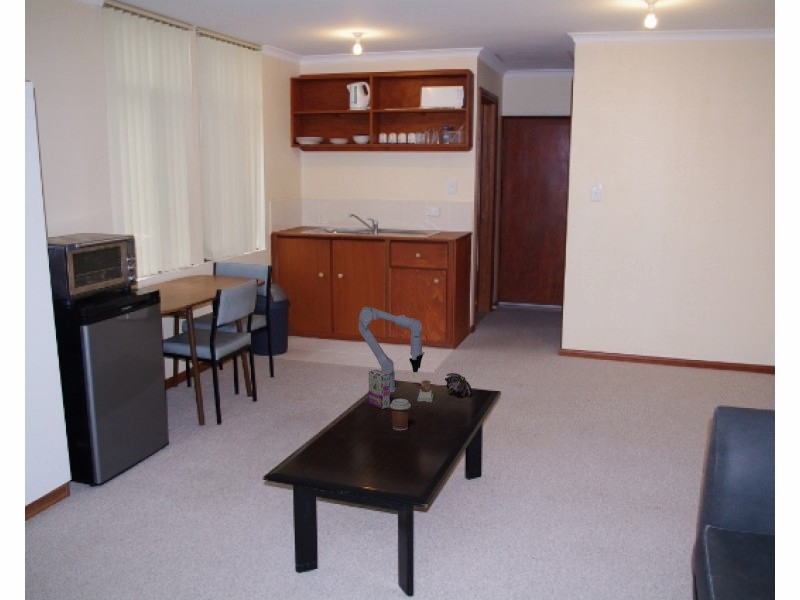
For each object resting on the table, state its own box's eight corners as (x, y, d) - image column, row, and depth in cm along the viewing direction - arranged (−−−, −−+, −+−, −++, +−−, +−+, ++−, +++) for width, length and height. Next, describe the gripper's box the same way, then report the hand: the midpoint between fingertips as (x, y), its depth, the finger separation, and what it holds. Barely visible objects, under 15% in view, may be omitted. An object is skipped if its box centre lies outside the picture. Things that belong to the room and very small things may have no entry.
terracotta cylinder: (420, 391, 348) (420, 382, 347) (422, 389, 352) (422, 380, 351) (429, 392, 347) (429, 383, 346) (430, 389, 351) (431, 380, 350)
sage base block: (417, 402, 348) (417, 397, 347) (419, 398, 354) (419, 393, 354) (432, 403, 346) (432, 398, 346) (433, 398, 353) (433, 393, 353)
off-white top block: (419, 397, 347) (419, 392, 347) (420, 393, 353) (420, 388, 352) (430, 397, 347) (430, 392, 346) (431, 394, 352) (431, 389, 352)
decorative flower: (463, 382, 345) (443, 367, 355) (453, 403, 347) (433, 388, 357) (481, 384, 355) (461, 370, 365) (472, 405, 357) (452, 390, 367)
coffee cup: (399, 422, 317) (399, 396, 315) (415, 427, 311) (415, 400, 309) (385, 428, 310) (385, 401, 308) (401, 433, 305) (401, 405, 302)
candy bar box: (390, 407, 338) (390, 373, 335) (382, 409, 335) (381, 375, 332) (376, 401, 346) (376, 368, 344) (368, 403, 344) (368, 370, 341)
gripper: (422, 347, 354) (422, 374, 356) (426, 340, 368) (426, 366, 370) (407, 347, 355) (408, 373, 357) (412, 340, 369) (413, 366, 371)
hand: (416, 370), depth 364 cm, fingers open, 7 cm apart
